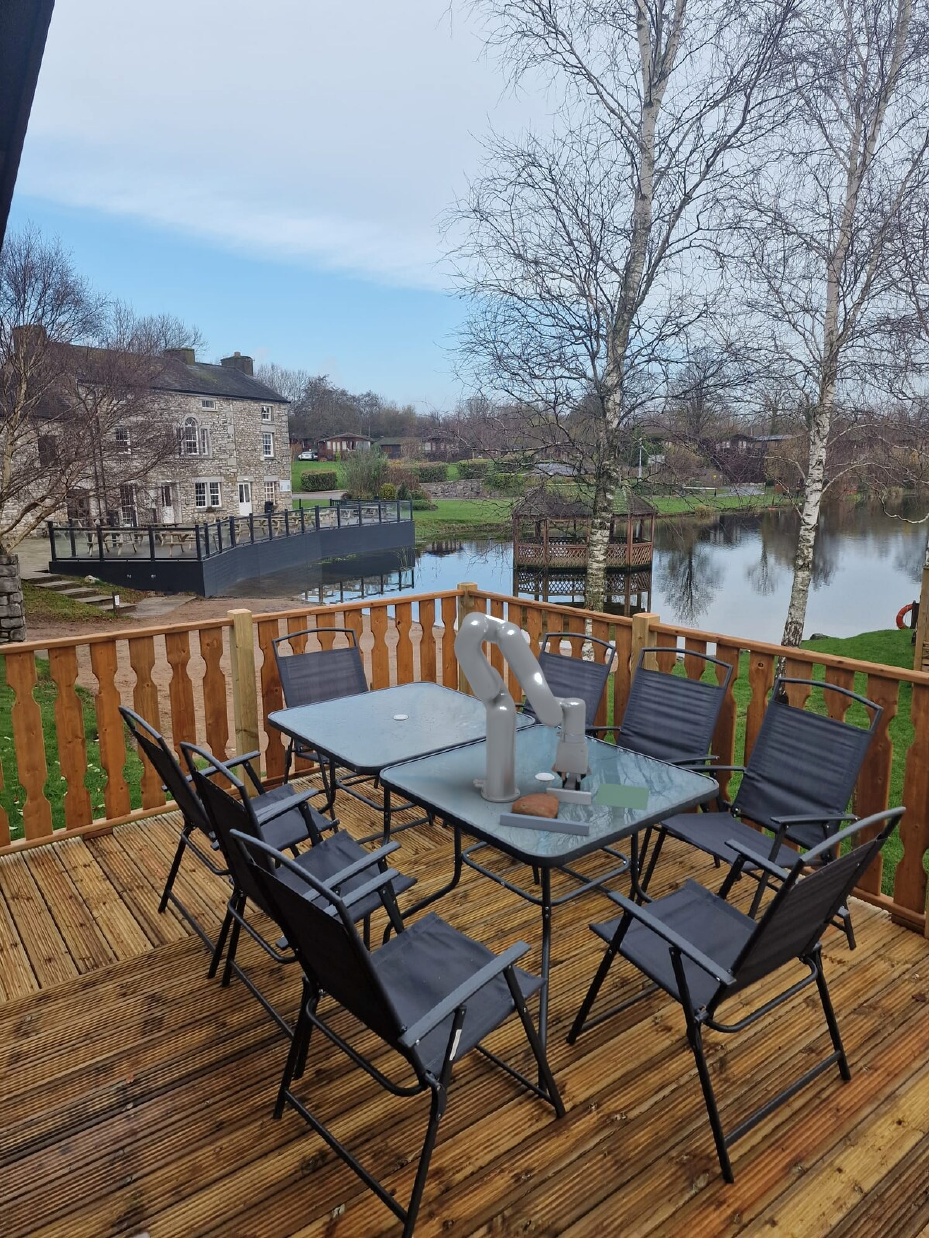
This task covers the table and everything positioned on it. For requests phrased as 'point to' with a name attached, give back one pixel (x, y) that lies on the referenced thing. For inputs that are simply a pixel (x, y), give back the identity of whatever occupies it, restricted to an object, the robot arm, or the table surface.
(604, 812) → the table surface
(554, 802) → the ceramic shard
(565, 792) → the scraper
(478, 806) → the table surface
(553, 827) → the board
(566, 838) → the table surface
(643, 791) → the mat
